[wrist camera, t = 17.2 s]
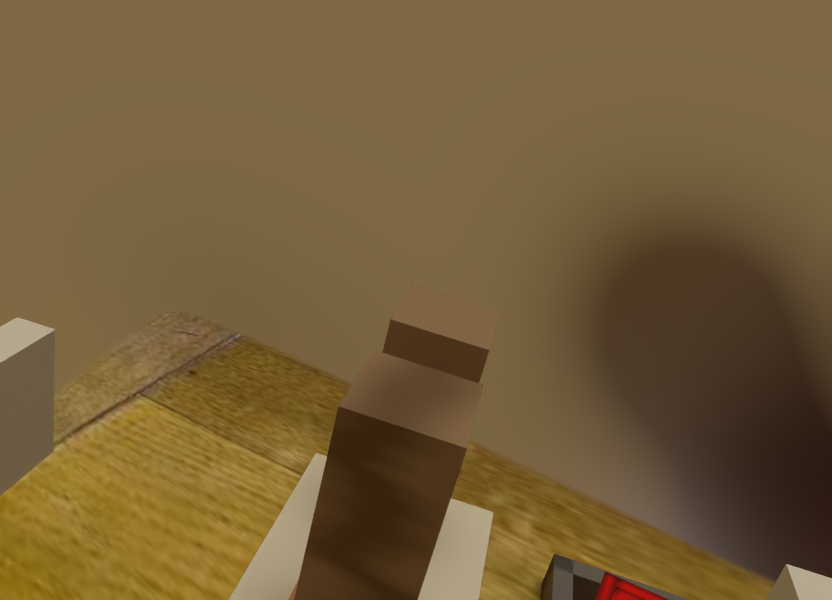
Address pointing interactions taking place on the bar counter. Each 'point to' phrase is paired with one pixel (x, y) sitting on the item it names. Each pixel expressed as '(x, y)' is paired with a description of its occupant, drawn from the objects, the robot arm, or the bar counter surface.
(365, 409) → the walnut pillar
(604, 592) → the french fries container
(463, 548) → the base board
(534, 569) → the bar counter surface
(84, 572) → the bar counter surface
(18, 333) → the robot arm
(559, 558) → the charcoal tray rim
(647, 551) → the bar counter surface
